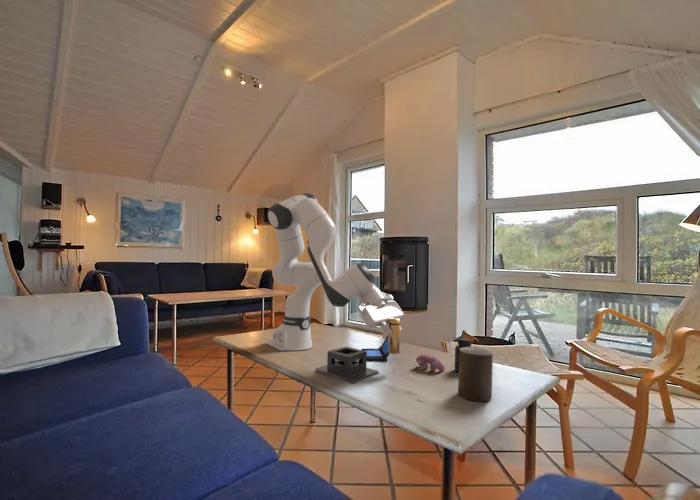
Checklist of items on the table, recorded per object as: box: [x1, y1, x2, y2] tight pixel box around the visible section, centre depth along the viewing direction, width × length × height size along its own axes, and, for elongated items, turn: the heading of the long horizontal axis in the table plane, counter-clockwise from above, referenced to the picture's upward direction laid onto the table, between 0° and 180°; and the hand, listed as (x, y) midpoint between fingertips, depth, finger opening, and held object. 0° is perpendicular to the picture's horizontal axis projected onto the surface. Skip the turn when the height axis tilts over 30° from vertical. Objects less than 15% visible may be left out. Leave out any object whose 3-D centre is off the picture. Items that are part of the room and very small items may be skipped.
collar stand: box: [315, 346, 379, 385], centre depth 124 cm, size 18×14×8 cm
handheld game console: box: [360, 334, 391, 363], centre depth 146 cm, size 16×13×9 cm
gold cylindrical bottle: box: [388, 318, 401, 355], centre depth 124 cm, size 4×4×12 cm
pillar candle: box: [457, 346, 494, 403], centre depth 105 cm, size 10×10×15 cm
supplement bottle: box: [453, 337, 472, 374], centre depth 128 cm, size 7×7×12 cm
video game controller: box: [415, 353, 445, 372], centre depth 129 cm, size 10×5×7 cm, turn 48°
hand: (395, 332), depth 124 cm, fingers closed on gold cylindrical bottle, 4 cm apart
